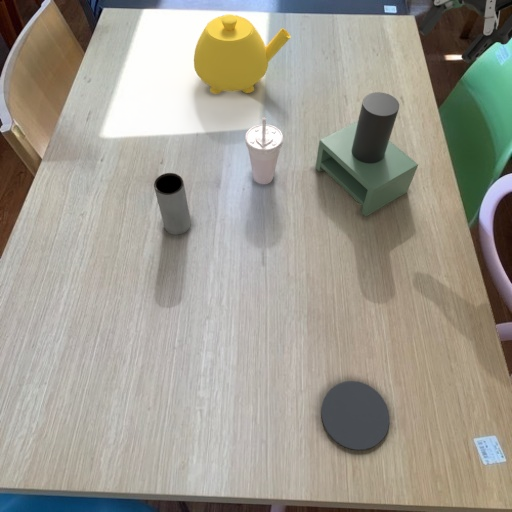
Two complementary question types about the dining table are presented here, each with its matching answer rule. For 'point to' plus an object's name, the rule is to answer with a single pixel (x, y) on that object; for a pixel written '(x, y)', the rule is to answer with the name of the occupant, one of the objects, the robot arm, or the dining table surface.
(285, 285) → the dining table surface
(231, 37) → the teapot
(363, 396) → the coaster
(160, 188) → the planter
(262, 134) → the smoothie
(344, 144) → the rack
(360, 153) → the dark grey cylinder
